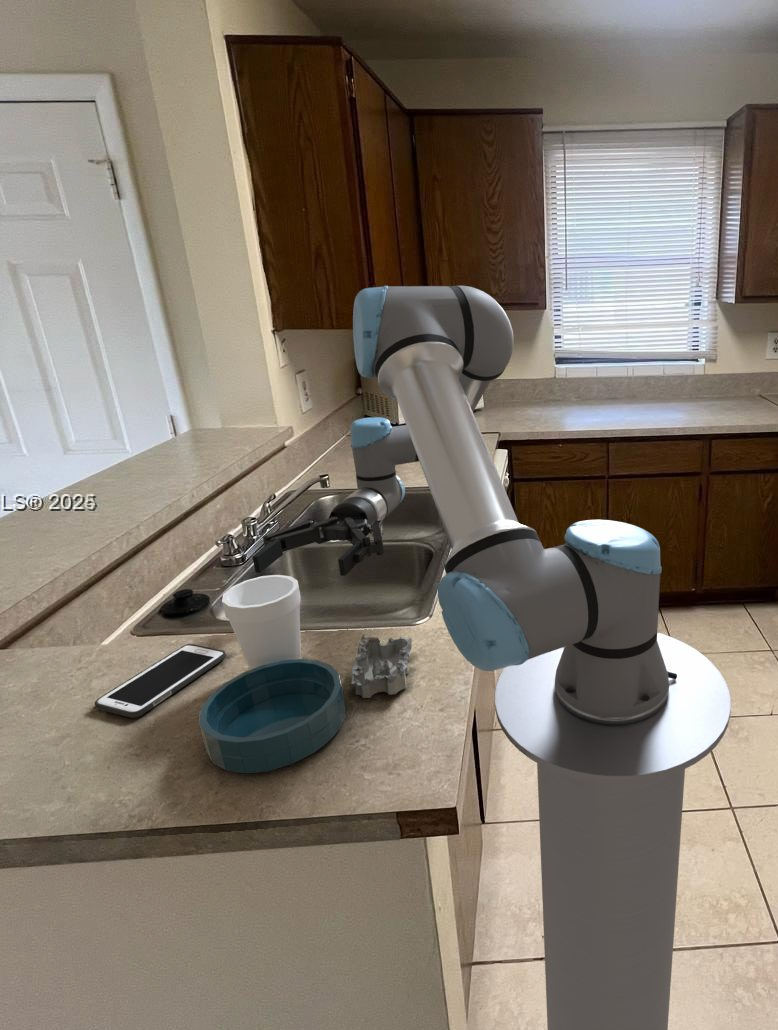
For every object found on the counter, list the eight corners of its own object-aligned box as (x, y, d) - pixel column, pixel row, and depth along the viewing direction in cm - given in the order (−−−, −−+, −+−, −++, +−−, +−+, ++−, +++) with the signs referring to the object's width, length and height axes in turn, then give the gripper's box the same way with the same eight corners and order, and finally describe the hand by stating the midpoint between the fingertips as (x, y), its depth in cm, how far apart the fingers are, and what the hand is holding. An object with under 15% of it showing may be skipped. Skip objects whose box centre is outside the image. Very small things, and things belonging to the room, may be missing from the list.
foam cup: (232, 695, 83) (211, 611, 78) (251, 656, 91) (233, 578, 87) (306, 685, 84) (290, 603, 80) (318, 648, 93) (304, 572, 88)
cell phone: (229, 656, 91) (228, 651, 91) (136, 720, 78) (134, 714, 77) (189, 648, 93) (188, 642, 93) (92, 708, 80) (90, 702, 80)
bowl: (368, 696, 82) (363, 665, 80) (299, 785, 68) (291, 749, 66) (264, 684, 85) (257, 654, 83) (176, 767, 70) (166, 732, 69)
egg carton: (364, 655, 91) (361, 632, 90) (416, 652, 92) (413, 628, 91) (348, 701, 81) (344, 675, 80) (406, 696, 82) (403, 670, 81)
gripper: (425, 536, 113) (380, 591, 93) (296, 532, 115) (226, 585, 95) (421, 497, 110) (374, 546, 90) (290, 494, 112) (216, 541, 92)
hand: (298, 566), depth 92 cm, fingers open, 13 cm apart
